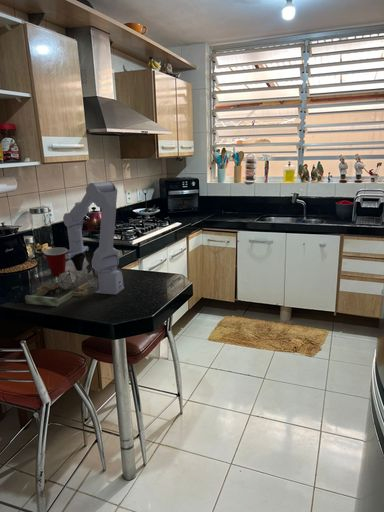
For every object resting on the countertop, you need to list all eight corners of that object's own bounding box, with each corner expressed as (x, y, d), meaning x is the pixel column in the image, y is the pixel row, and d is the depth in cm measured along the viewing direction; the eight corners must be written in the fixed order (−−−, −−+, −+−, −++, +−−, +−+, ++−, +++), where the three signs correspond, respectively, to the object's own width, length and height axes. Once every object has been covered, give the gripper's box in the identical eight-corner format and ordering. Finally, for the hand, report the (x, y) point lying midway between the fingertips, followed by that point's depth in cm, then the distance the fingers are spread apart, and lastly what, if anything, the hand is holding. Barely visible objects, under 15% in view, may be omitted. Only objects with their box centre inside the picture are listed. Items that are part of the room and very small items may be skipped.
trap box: (97, 286, 159) (96, 280, 159) (66, 307, 139) (65, 299, 138) (53, 283, 166) (52, 277, 165) (17, 302, 146) (16, 295, 145)
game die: (69, 295, 161) (73, 273, 164) (79, 293, 155) (83, 270, 159) (49, 290, 155) (54, 268, 159) (59, 287, 149) (64, 264, 153)
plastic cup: (51, 279, 171) (48, 254, 168) (43, 274, 179) (39, 250, 176) (74, 274, 178) (71, 249, 175) (65, 269, 186) (61, 246, 183)
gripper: (77, 236, 170) (80, 265, 173) (57, 243, 156) (61, 274, 160) (91, 236, 167) (94, 266, 171) (71, 244, 154) (75, 276, 158)
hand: (79, 270), depth 165 cm, fingers closed
